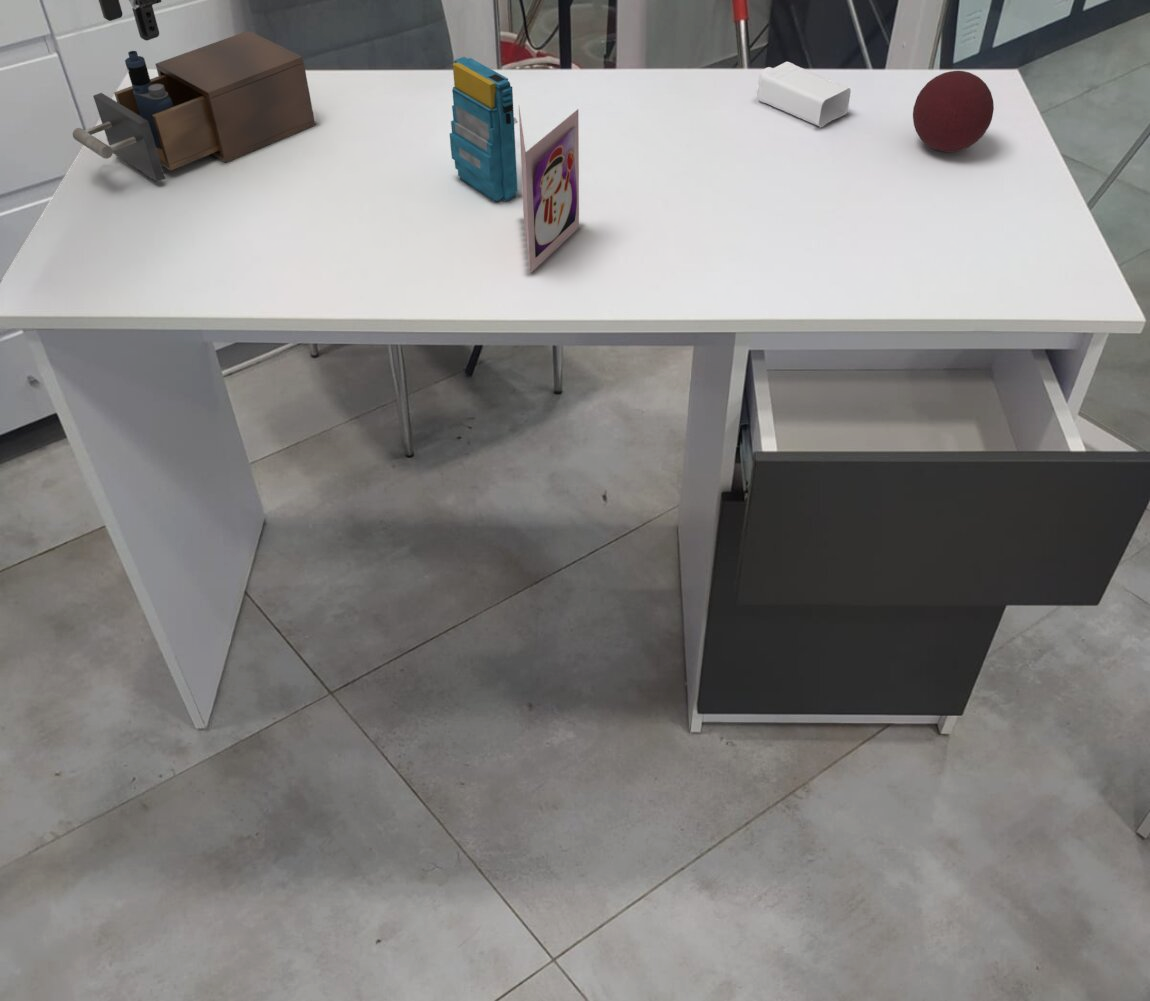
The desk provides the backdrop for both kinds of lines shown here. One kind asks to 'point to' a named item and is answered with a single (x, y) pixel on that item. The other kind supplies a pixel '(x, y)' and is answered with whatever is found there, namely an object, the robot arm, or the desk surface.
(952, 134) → the decorative ball
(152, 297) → the desk surface
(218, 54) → the cabinet
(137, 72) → the vaping device
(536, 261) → the greeting card
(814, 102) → the white rectangular box
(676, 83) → the desk surface
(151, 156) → the drawer
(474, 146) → the teal upright block
